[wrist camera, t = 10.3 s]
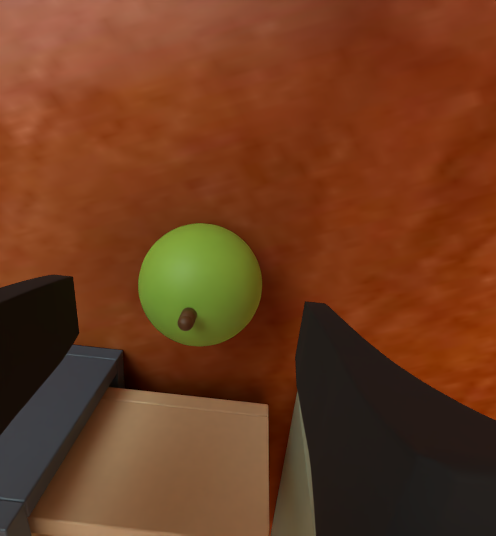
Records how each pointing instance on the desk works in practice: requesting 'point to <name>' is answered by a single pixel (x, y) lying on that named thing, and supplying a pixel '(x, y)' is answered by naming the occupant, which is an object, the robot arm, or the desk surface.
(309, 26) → the desk surface
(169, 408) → the drawer
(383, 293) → the desk surface
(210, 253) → the apple
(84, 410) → the cabinet
